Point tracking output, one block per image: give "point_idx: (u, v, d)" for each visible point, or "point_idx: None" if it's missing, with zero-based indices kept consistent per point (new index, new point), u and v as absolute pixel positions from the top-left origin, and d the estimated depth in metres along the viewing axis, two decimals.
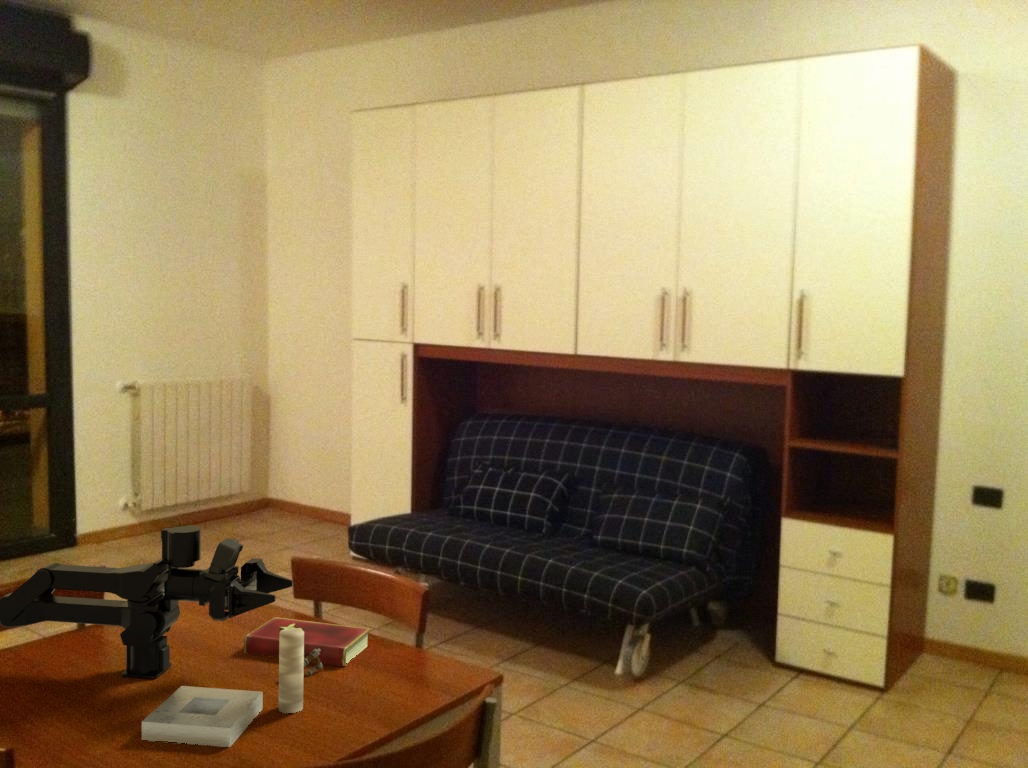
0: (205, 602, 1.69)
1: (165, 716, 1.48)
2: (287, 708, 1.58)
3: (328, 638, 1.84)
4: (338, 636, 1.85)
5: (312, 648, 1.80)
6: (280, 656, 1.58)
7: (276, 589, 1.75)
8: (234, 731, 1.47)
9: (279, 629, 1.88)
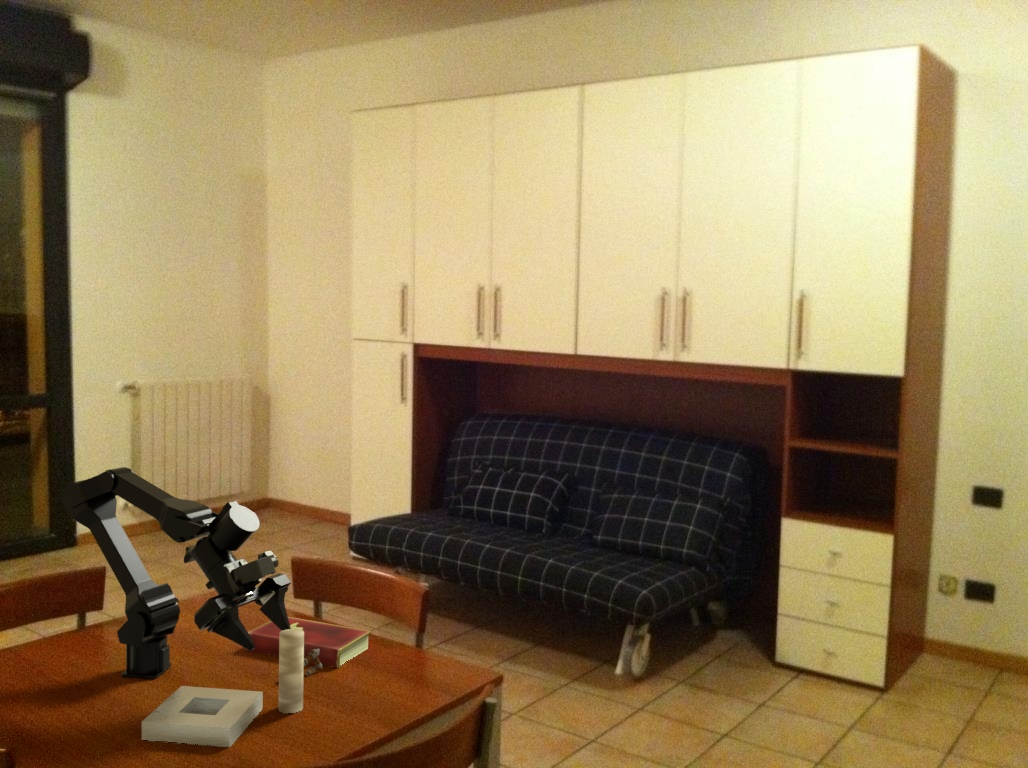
0: (211, 587, 1.63)
1: (165, 716, 1.48)
2: (287, 708, 1.58)
3: (326, 639, 1.83)
4: (336, 637, 1.84)
5: (308, 648, 1.80)
6: (280, 656, 1.58)
7: (275, 623, 1.66)
8: (234, 731, 1.47)
9: None
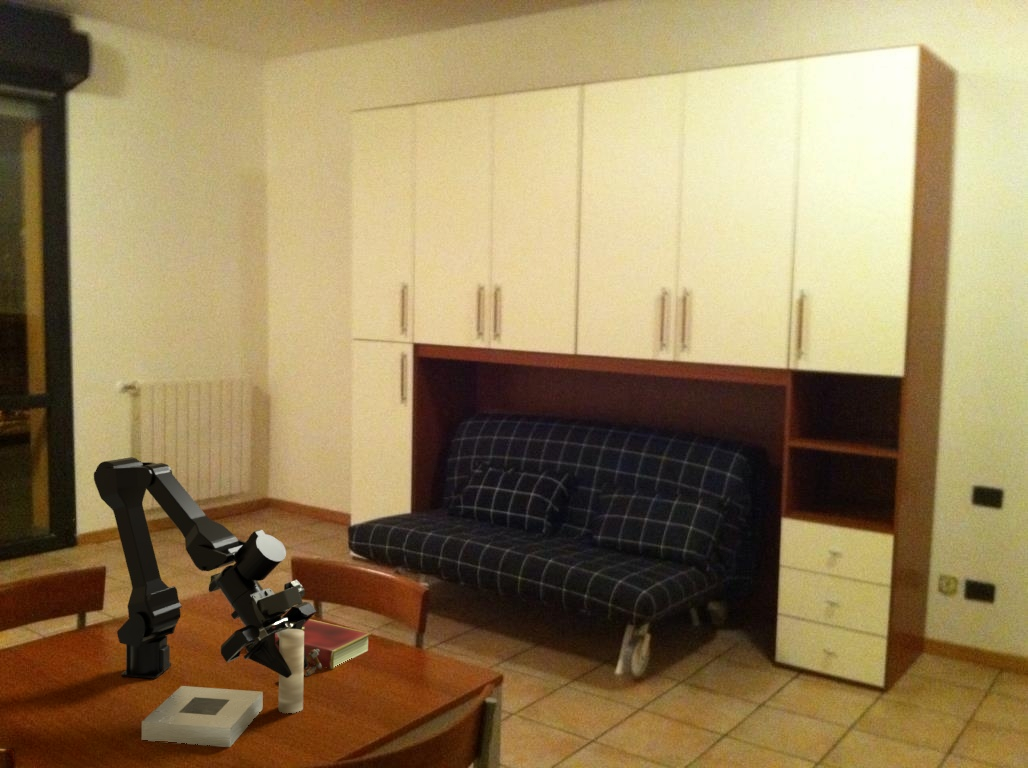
0: (237, 617, 1.61)
1: (165, 716, 1.48)
2: (287, 708, 1.58)
3: (323, 640, 1.83)
4: (334, 638, 1.84)
5: (304, 648, 1.80)
6: None
7: None
8: (234, 731, 1.47)
9: None
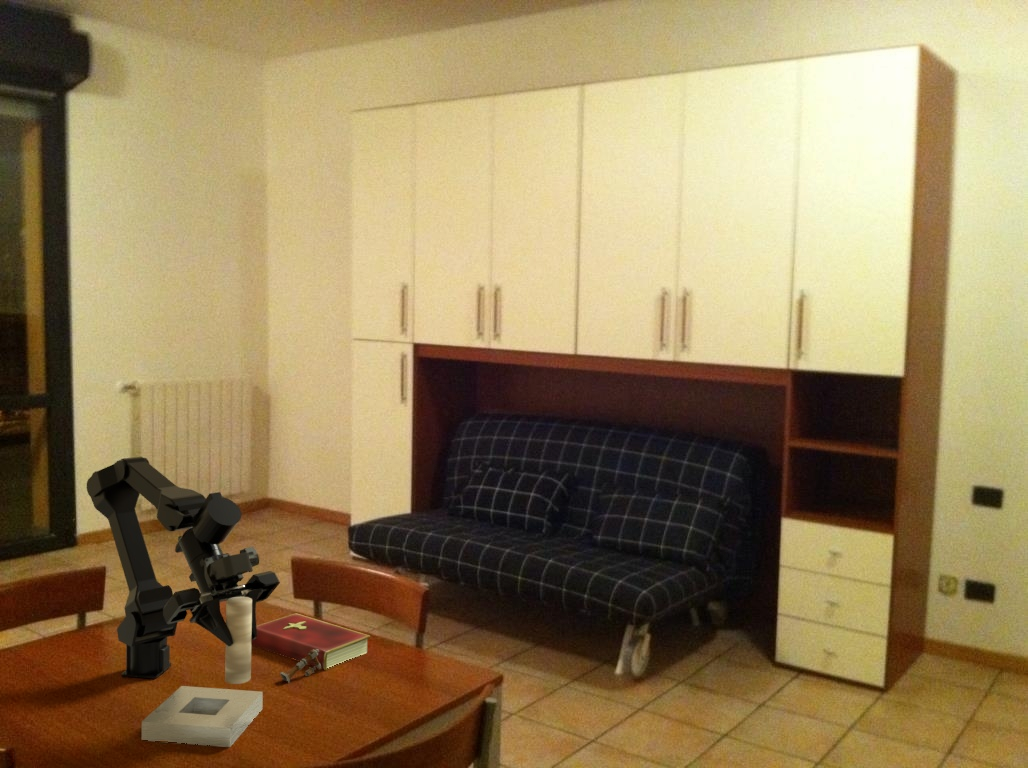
0: (194, 579, 1.58)
1: (165, 716, 1.48)
2: (230, 678, 1.52)
3: (320, 640, 1.83)
4: (332, 639, 1.83)
5: (300, 647, 1.80)
6: (226, 623, 1.52)
7: None
8: (234, 731, 1.47)
9: (287, 625, 1.90)
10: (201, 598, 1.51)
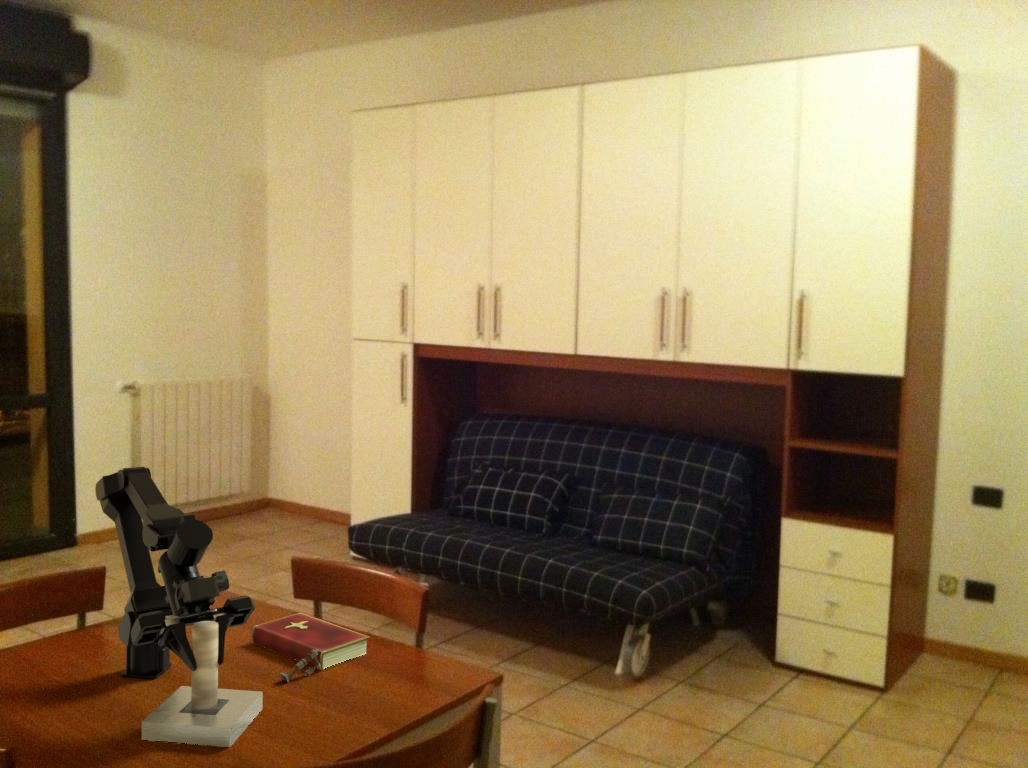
0: None
1: (165, 716, 1.48)
2: (195, 703, 1.51)
3: (319, 640, 1.82)
4: (331, 639, 1.83)
5: (298, 647, 1.80)
6: None
7: None
8: (234, 731, 1.47)
9: (289, 624, 1.91)
10: (167, 621, 1.50)
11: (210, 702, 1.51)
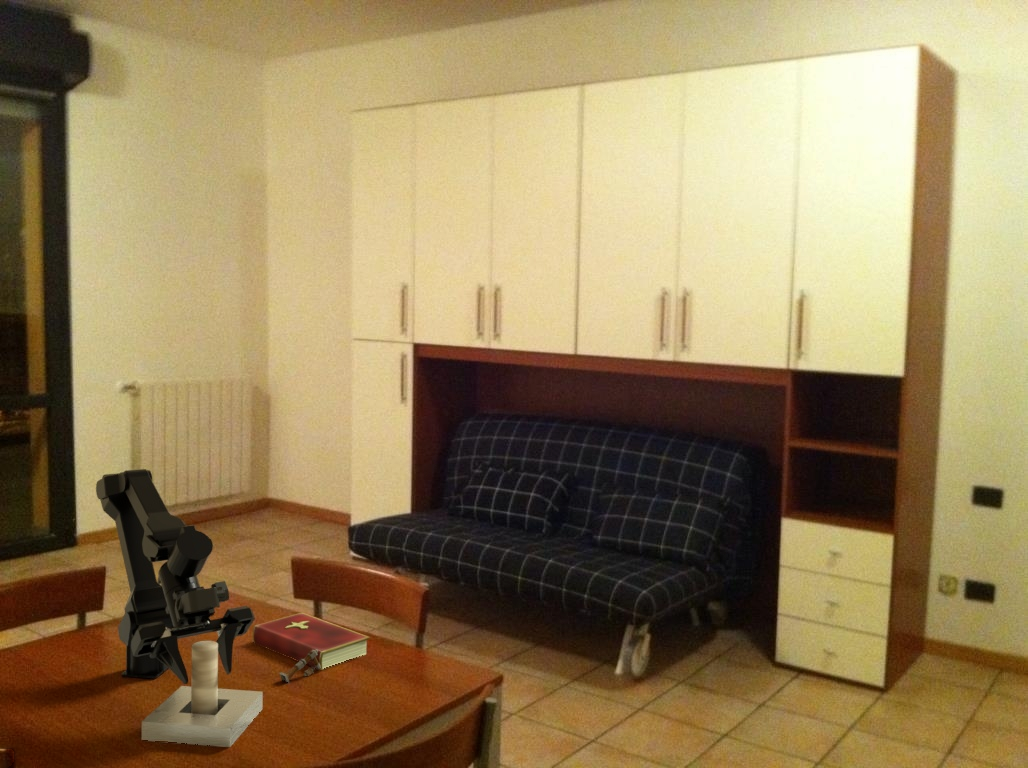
0: None
1: (165, 716, 1.48)
2: None
3: (319, 640, 1.83)
4: (331, 639, 1.83)
5: (298, 647, 1.81)
6: None
7: (221, 660, 1.55)
8: (234, 731, 1.47)
9: (290, 624, 1.91)
10: None
11: None
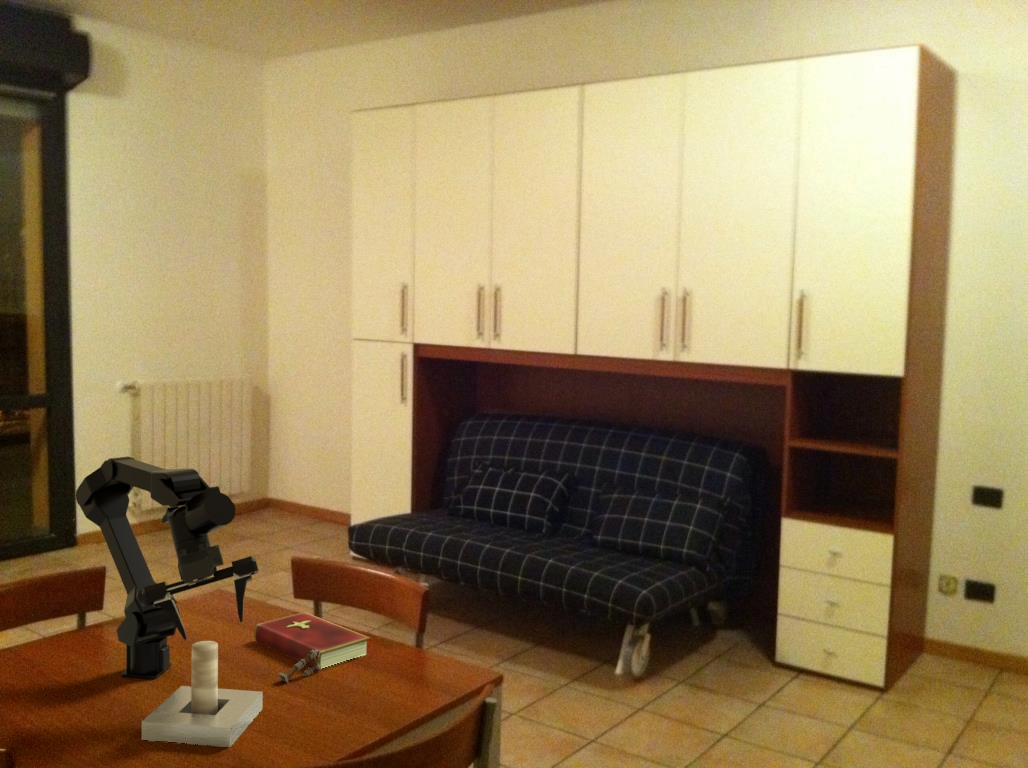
0: None
1: (165, 716, 1.48)
2: None
3: (319, 640, 1.83)
4: (330, 639, 1.83)
5: (297, 646, 1.81)
6: None
7: None
8: (234, 731, 1.47)
9: (291, 623, 1.91)
10: None
11: None
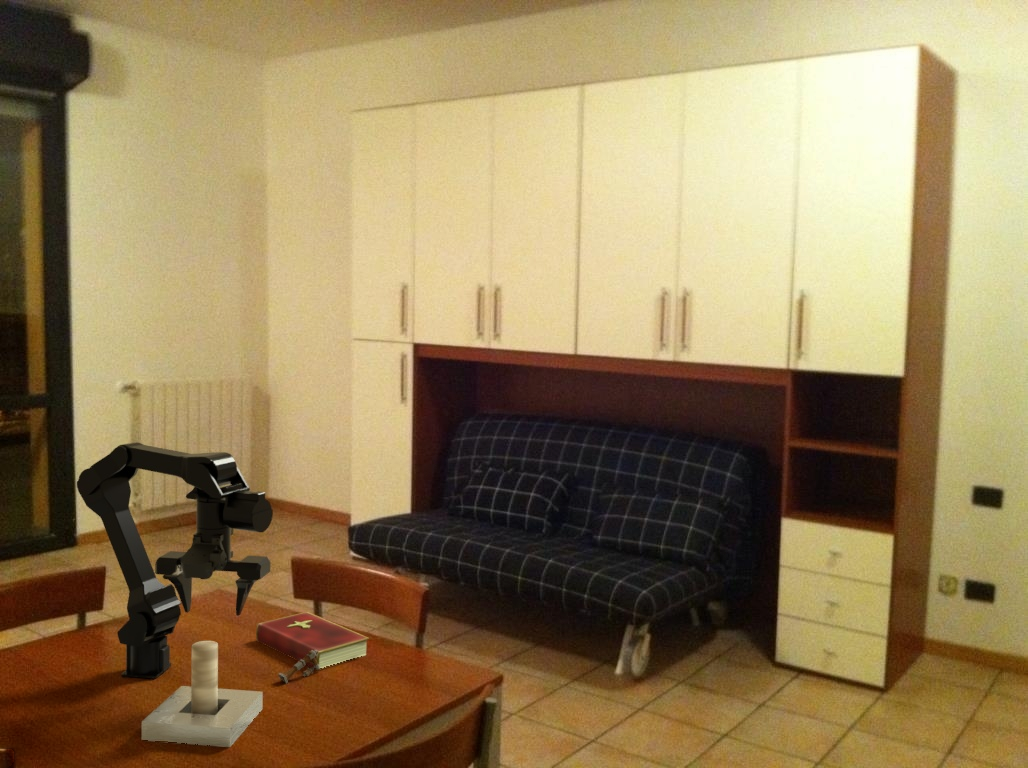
0: None
1: (165, 716, 1.48)
2: None
3: (318, 640, 1.83)
4: (330, 639, 1.83)
5: (297, 646, 1.81)
6: None
7: None
8: (234, 731, 1.47)
9: (293, 623, 1.92)
10: None
11: None
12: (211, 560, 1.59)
